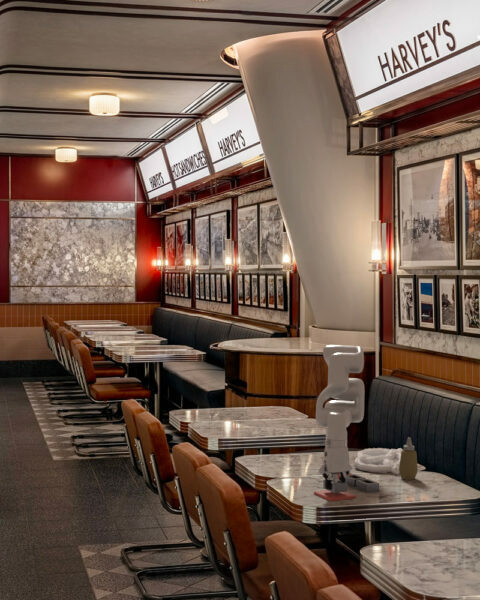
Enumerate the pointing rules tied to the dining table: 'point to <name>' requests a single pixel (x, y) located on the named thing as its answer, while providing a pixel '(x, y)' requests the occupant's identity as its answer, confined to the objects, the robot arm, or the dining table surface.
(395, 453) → the pretzel
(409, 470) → the squeeze bottle
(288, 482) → the dining table surface
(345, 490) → the end link
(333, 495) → the keeper
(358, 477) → the link
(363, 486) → the link
